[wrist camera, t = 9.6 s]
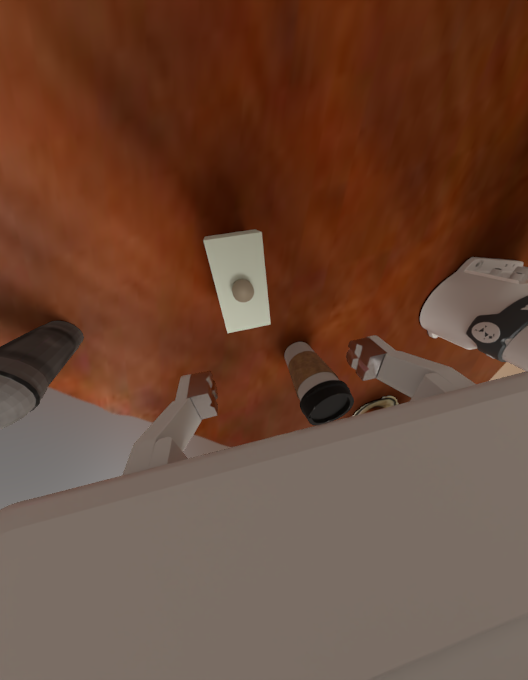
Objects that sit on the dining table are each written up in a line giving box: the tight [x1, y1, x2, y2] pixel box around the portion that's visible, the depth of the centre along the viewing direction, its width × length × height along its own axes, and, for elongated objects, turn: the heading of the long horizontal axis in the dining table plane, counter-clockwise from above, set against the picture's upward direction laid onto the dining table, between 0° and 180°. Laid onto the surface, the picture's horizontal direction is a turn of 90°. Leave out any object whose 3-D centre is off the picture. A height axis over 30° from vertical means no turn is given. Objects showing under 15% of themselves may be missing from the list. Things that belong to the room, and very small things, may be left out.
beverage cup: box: [0, 321, 84, 429], centre depth 20 cm, size 7×7×20 cm
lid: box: [203, 229, 271, 333], centre depth 22 cm, size 6×11×5 cm, turn 6°
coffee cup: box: [284, 342, 354, 425], centre depth 35 cm, size 8×8×15 cm
